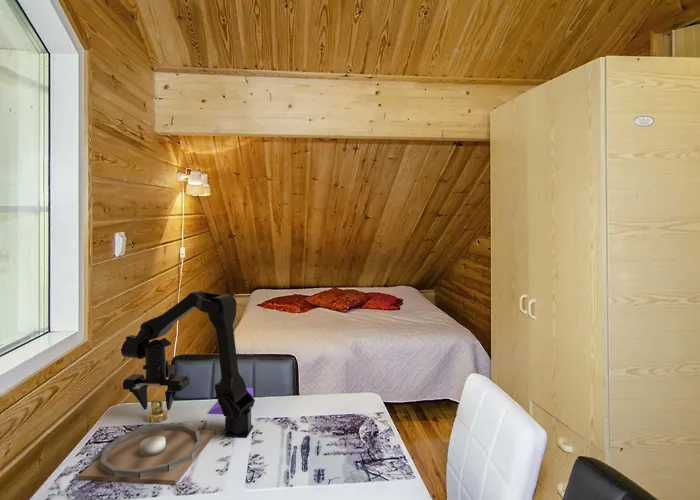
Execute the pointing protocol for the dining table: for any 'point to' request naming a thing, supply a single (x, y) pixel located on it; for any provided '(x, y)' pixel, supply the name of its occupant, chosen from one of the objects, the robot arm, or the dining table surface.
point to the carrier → (149, 455)
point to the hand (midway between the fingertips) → (157, 409)
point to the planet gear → (157, 411)
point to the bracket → (217, 408)
